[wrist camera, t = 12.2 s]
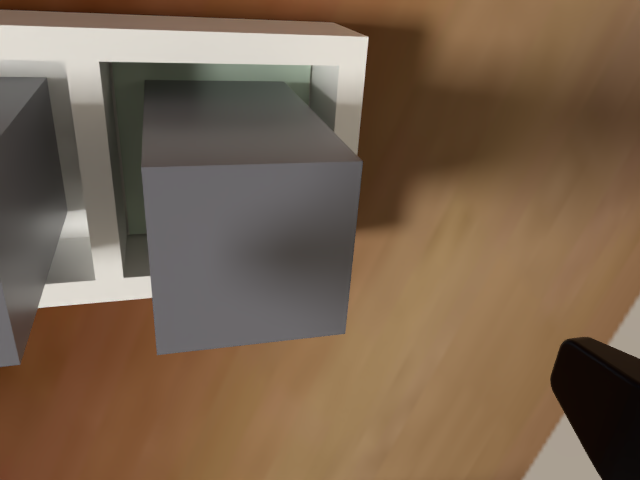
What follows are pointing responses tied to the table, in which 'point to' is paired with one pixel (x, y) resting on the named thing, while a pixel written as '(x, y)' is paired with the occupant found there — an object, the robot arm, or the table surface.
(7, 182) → the twin plug
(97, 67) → the dock
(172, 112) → the grey rectangular block
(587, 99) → the table surface
